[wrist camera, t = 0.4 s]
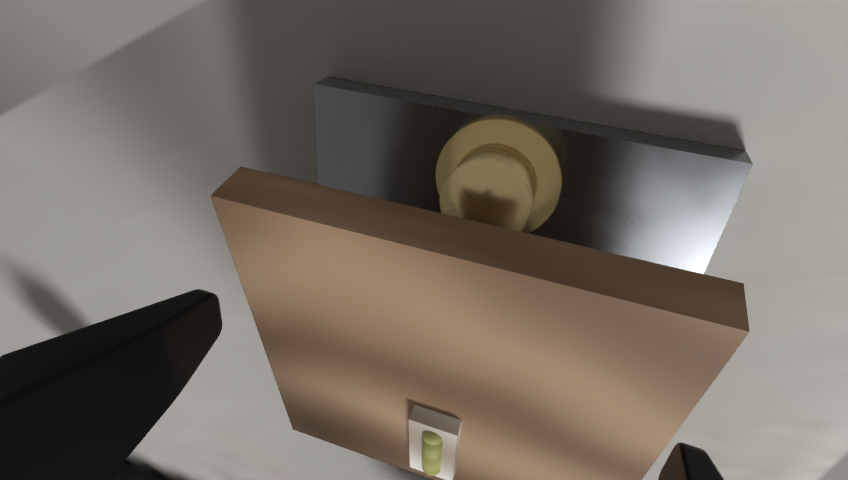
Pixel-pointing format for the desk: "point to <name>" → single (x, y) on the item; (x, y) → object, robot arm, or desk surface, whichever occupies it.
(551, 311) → the top plate
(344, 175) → the base
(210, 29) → the desk surface
